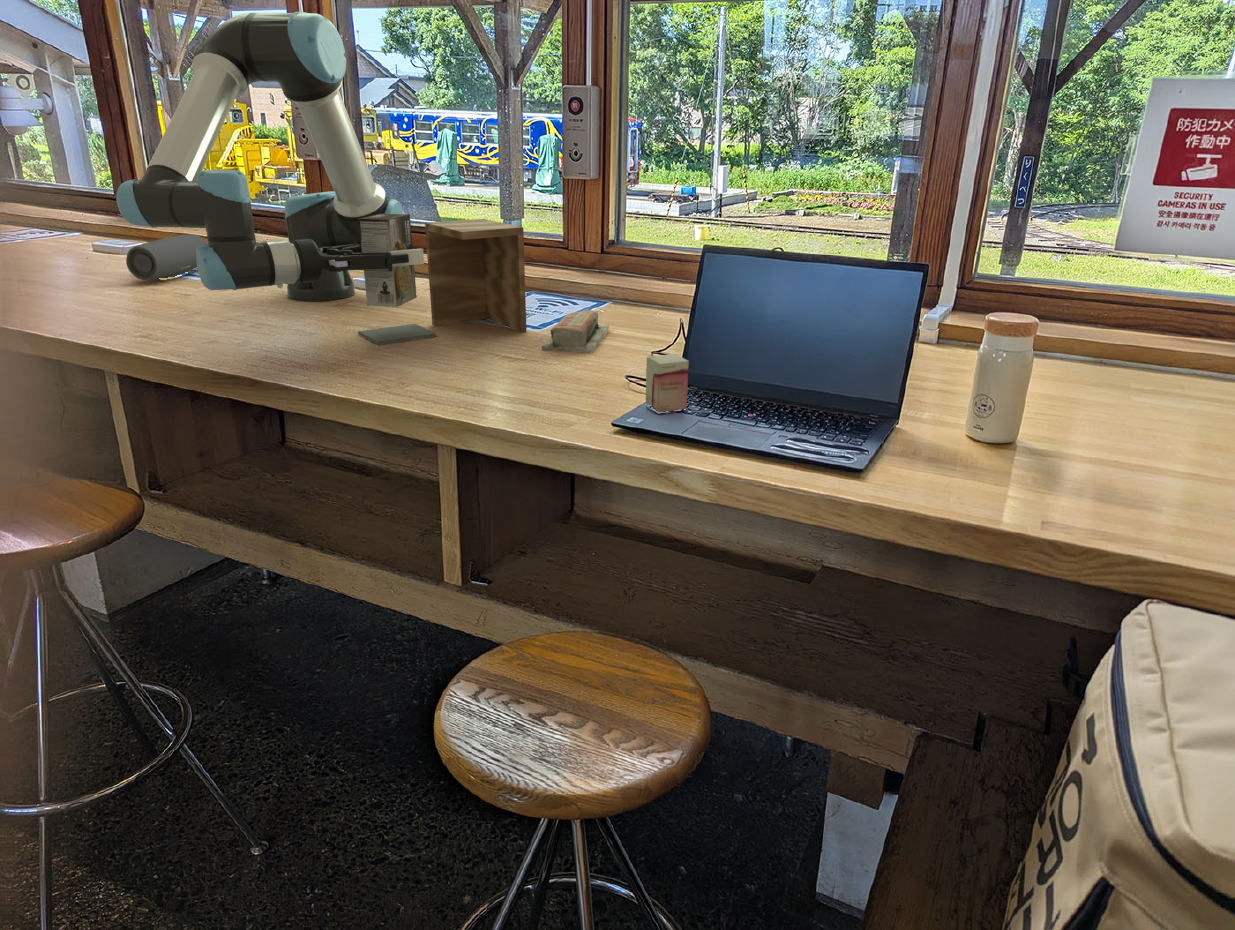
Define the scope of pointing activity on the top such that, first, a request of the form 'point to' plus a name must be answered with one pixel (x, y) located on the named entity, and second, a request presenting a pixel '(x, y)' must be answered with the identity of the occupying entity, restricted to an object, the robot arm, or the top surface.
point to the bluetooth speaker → (164, 257)
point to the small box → (667, 382)
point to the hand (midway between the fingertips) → (410, 252)
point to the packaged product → (577, 333)
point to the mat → (396, 334)
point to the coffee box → (381, 238)
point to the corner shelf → (476, 272)
